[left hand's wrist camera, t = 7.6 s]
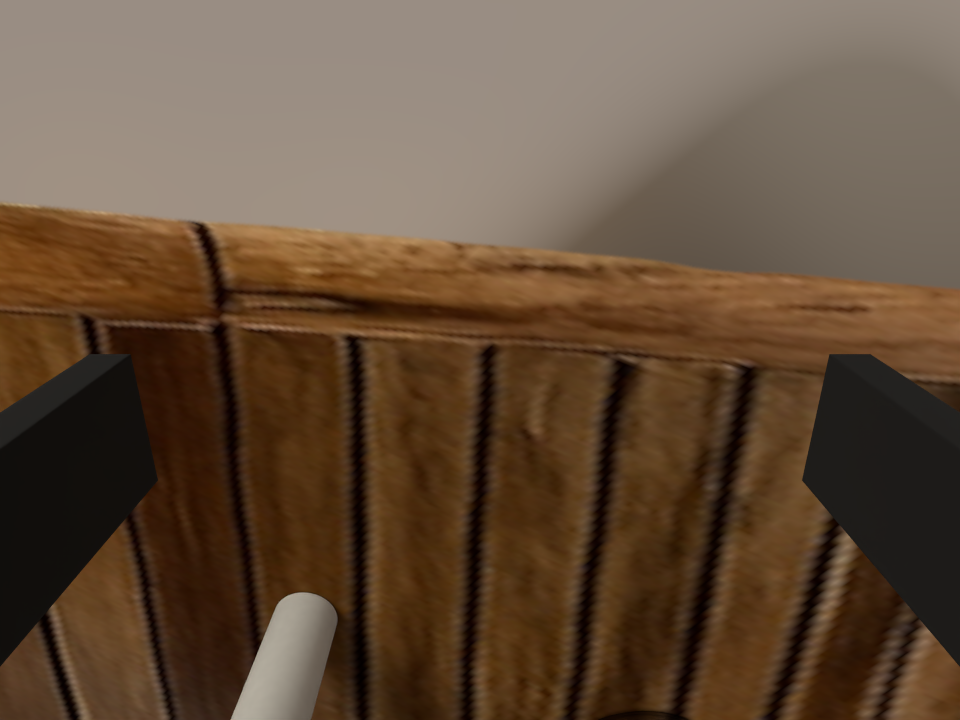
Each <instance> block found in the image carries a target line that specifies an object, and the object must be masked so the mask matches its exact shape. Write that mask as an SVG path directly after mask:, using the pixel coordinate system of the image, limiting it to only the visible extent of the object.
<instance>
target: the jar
mask: <svg viewBox="0 0 960 720" xmlns="http://www.w3.org/2000/svg"><path fill="white" fill-rule="evenodd" d="M336 626H337V614H336V611H335V609H334V607H333V606H332V605H331V604H330V602H328V601H327V600H326V599H324V598H323V597H321V596H318V595H316V594H312V593H305V592H301V593H294V594H291V595H288V596H286V597H285V598H283V599H282V600H281V601H280V602H279V603H278V605H277V606H276V609H275V611H274V613H273V616H272V618H271V621H270V623H269V626H268V628H267V631H266V633H265V636H264V638H263V641H262V643H261V646H260V648H259V651H258V653H257V656H256V658H255V661H254V663H253V666H252V668H251V671H250V673H249V676H248V678H247V681H246V683H245V686H244V688H243V691H242V693H241V696H240V698H239V701H238V703H237V706H236V708H235V711H234V713H233V716H232V718H231V720H311V717H312V714H313V710H314V706H315V703H316V699H317V695H318V692H319V688H320V684H321V681H322V677H323V673H324V670H325V666H326V662H327V659H328V655H329V651H330V648H331V644H332V640H333V637H334V633H335V629H336Z"/></svg>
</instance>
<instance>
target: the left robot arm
mask: <svg viewBox="0 0 960 720" xmlns="http://www.w3.org/2000/svg"><path fill="white" fill-rule="evenodd" d="M157 481H158V479H157V474H156V470H155V465H154V460H153V456H152V451H151V447H150V442H149V437H148V433H147V428H146V424H145V419H144V414H143V410H142V405H141V401H140V396H139V391H138V387H137V382H136V378H135V373H134V368H133V364H132V359H131V355H130V354H89V355H88V356H86V357H85V358H83V359H82V360H80V361H79V362H77V363H76V364H74V365H73V366H71V367H69V368H68V369H66V370H65V371H63V372H62V373H60V374H59V375H57V376H56V377H54V378H53V379H51V380H50V381H48V382H46V383H45V384H43V385H42V386H40V387H39V388H37V389H36V390H34V391H33V392H31V393H30V394H28V395H27V396H25V397H23V398H22V399H20V400H19V401H17V402H16V403H14V404H13V405H11V406H10V407H8V408H7V409H5V410H4V411H2V412H0V666H1V665H2V664H3V663H4V661H5V660H6V659H7V658H8V657H9V655H10V654H11V653H12V652H13V651H14V650H15V648H16V647H17V646H18V645H19V644H20V642H21V641H22V640H23V639H24V638H25V637H26V635H27V634H28V633H29V632H30V631H31V630H32V628H33V627H34V626H35V625H36V624H37V622H38V621H39V620H40V619H41V618H42V617H43V615H44V614H45V613H46V612H47V611H48V609H49V608H50V607H51V606H52V605H53V604H54V602H55V601H56V600H57V599H58V598H59V596H60V595H61V594H62V593H63V592H64V591H65V589H66V588H67V587H68V586H69V585H70V583H71V582H72V581H73V580H74V579H75V578H76V576H77V575H78V574H79V573H80V572H81V570H82V569H83V568H84V567H85V566H86V565H87V563H88V562H89V561H90V560H91V559H92V557H93V556H94V555H95V554H96V553H97V552H98V550H99V549H100V548H101V547H102V546H103V544H104V543H105V542H106V541H107V540H108V539H109V537H110V536H111V535H112V534H113V533H114V531H115V530H116V529H117V528H118V527H119V526H120V524H121V523H122V522H123V521H124V520H125V519H126V517H127V516H128V515H129V514H130V513H131V511H132V510H133V509H134V508H135V507H136V506H137V504H138V503H139V502H140V501H141V500H142V498H143V497H144V496H145V495H146V494H147V493H148V491H149V490H150V489H151V488H152V487H153V485H154V484H155V483H156V482H157ZM802 481H803V482H804V483H805V484H806V485H807V487H808V488H809V489H810V490H811V491H812V493H813V494H814V495H815V496H816V497H817V498H818V500H819V501H820V502H821V503H822V504H823V506H824V507H825V508H826V509H827V510H828V511H829V513H830V514H831V515H832V516H833V517H834V519H835V520H836V521H837V522H838V523H839V524H840V526H841V527H842V528H843V529H844V530H845V531H846V533H847V534H848V535H849V536H850V537H851V539H852V540H853V541H854V542H855V543H856V544H857V546H858V547H859V548H860V549H861V550H862V552H863V553H864V554H865V555H866V556H867V557H868V559H869V560H870V561H871V562H872V563H873V565H874V566H875V567H876V568H877V569H878V570H879V572H880V573H881V574H882V575H883V576H884V578H885V579H886V580H887V581H888V582H889V583H890V585H891V586H892V587H893V588H894V589H895V591H896V592H897V593H898V594H899V595H900V596H901V598H902V599H903V600H904V601H905V602H906V604H907V605H908V606H909V607H910V608H911V609H912V611H913V612H914V613H915V614H916V615H917V617H918V618H919V619H920V620H921V621H922V622H923V624H924V625H925V626H926V627H927V628H928V630H929V631H930V632H931V633H932V634H933V635H934V637H935V638H936V639H937V640H938V641H939V643H940V644H941V645H942V646H943V647H944V648H945V650H946V651H947V652H948V653H949V654H950V655H951V657H952V658H953V659H954V660H955V661H956V663H957V664H958V665H959V666H960V412H958V411H956V410H955V409H953V408H952V407H950V406H949V405H947V404H946V403H944V402H943V401H941V400H940V399H938V398H937V397H935V396H933V395H932V394H930V393H929V392H927V391H926V390H924V389H923V388H921V387H920V386H918V385H917V384H915V383H914V382H912V381H910V380H909V379H907V378H906V377H904V376H903V375H901V374H900V373H898V372H897V371H895V370H894V369H892V368H891V367H889V366H887V365H886V364H884V363H883V362H881V361H880V360H878V359H877V358H875V357H874V356H872V355H871V354H829V359H828V364H827V368H826V373H825V378H824V382H823V387H822V391H821V396H820V401H819V405H818V410H817V414H816V419H815V424H814V428H813V433H812V437H811V442H810V447H809V451H808V456H807V460H806V465H805V470H804V474H803V479H802ZM599 720H686V719H684V718H681V717H678V716H674V715H671V714H666V713H660V712H645V711H642V712H628V713H621V714H616V715H612V716H608V717H605V718H602V719H599Z"/></svg>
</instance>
